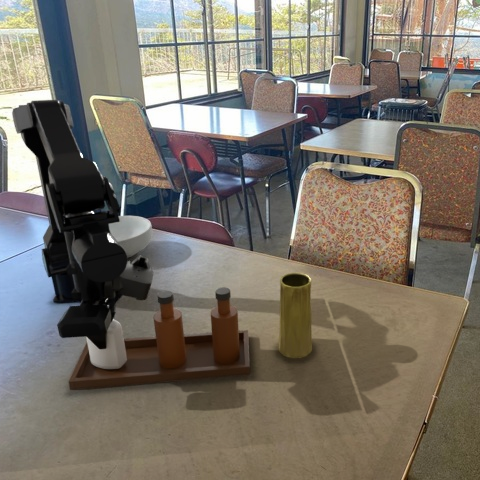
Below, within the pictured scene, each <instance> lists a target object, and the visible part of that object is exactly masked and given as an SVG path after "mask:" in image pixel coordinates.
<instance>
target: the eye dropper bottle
mask: <svg viewBox="0 0 480 480" xmlns="http://www.w3.org/2000/svg"><path fill="white" fill-rule="evenodd" d="M85 338H86V339H85V340H86V343H87V344H88V350H89V355H90V360H91V363H92V364H93V365H94V366H96V367H99V368H102V369H118V368H121V367H122V366H123V365H124V364H125V362H126V361H127V357H126V350H125V344H124V339H125V337H124V331H123V326H122V324H121V323H120V321H118V320H116V319H115V318H114V319H113V321H112V322H111V323H110V326H109V328H108V331H107V348H106V349H98V348H97V347H96V346H95V345H94V344H93V343H92V342H91V341H90V340H89V339H88V338H87V337H85Z"/></svg>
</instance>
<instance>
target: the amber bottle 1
mask: <svg viewBox="0 0 480 480" xmlns="http://www.w3.org/2000/svg"><path fill="white" fill-rule="evenodd" d="M156 297H157V303H158V304H159V310H157V311H156V312H154V314H153V317H152V318H153V326H154V332H155V333H154V335H155V336H156V341H157V349H158V357H159V364H160V365H161V366H162V367H164V368H168V369H172V368H177V367H179V366H181V365H183V364H184V363H185V361H186V350H185V341H184V334H185V333H184V332H185V331H184V323H183V322H184V321H183V314H182V311H181V310H180V309H178V308H175V307H174V301H175V298H174V292H173V291H172V290H162V291H159V292H158V293H156Z"/></svg>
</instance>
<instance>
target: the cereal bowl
mask: <svg viewBox="0 0 480 480" xmlns="http://www.w3.org/2000/svg"><path fill="white" fill-rule="evenodd" d="M118 216H119V220H120V222H116V223H111V224H109V230H110V232H111V234H112V235H113V237H114V238H115V239H116V240H117V242H118V243H119V244H120V245H121V247H122V248H123V249H124V251H125V252H126V254H127V259H128V258H131V257H133V256H134V255H136V254H138V253H140V252H141V251H143V250H144V249H145V248H146V247H147V246H148V245H149V244H150V242H151V240H152V237H153V226H152V223H151V221H150V220H149V219H148V218H145V217H142V216H138V215H118Z"/></svg>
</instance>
